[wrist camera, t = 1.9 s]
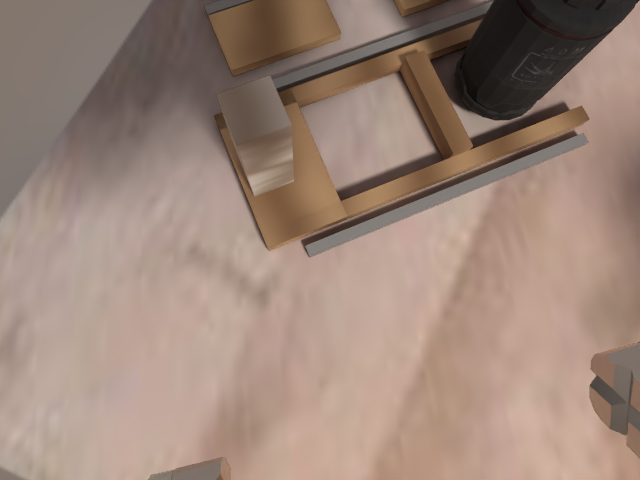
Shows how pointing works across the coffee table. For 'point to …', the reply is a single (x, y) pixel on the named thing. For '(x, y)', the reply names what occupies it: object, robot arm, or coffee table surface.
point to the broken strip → (281, 29)
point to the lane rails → (375, 50)
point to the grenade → (530, 50)
